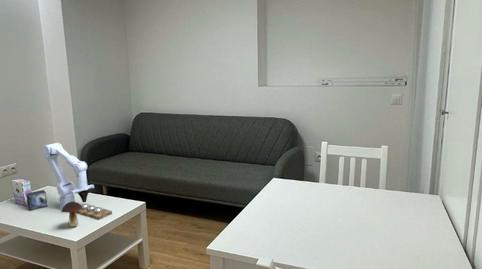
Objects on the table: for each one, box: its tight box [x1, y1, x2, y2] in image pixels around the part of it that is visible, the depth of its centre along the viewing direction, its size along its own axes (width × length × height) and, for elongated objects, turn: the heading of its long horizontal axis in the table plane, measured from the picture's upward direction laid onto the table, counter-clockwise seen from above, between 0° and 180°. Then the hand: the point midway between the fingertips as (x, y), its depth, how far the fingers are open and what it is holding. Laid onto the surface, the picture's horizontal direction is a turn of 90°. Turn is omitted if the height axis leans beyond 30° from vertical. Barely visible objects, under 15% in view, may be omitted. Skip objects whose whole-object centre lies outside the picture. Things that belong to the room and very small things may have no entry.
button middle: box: [87, 205, 96, 211], centre depth 221 cm, size 4×4×4 cm
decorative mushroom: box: [61, 201, 83, 228], centre depth 200 cm, size 11×11×15 cm
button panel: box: [75, 204, 113, 221], centre depth 221 cm, size 26×10×2 cm, turn 58°
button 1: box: [81, 203, 90, 210], centre depth 224 cm, size 4×4×4 cm
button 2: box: [94, 206, 102, 213], centre depth 217 cm, size 4×4×4 cm
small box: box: [26, 189, 49, 212], centre depth 232 cm, size 11×6×10 cm, turn 131°
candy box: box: [11, 178, 33, 207], centre depth 241 cm, size 14×6×16 cm, turn 58°
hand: (84, 201), depth 223 cm, fingers closed
